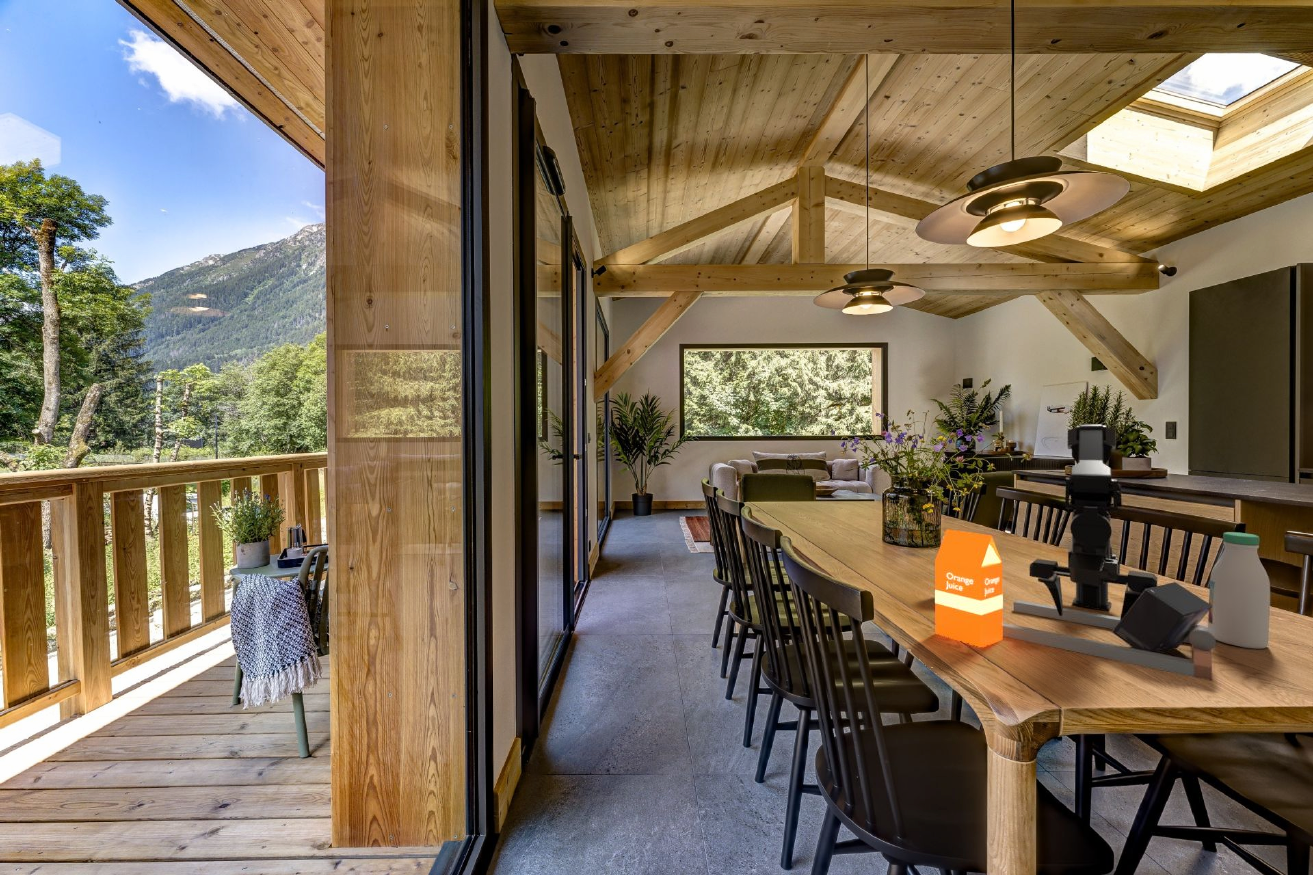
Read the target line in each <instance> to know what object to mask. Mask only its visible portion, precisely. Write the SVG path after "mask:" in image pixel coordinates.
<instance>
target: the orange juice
mask: <svg viewBox="0 0 1313 875" xmlns="http://www.w3.org/2000/svg"><path fill="white" fill-rule="evenodd" d="M943 536H944V538H943V537H942V539H943V541H942V540H941V541H942V543H941V544H940V547H939V550H938V552H937V555H936V557H935V559H934V574H935V575H934V576H935V577H934V578H935V579H934V581H935V582H934V584H935V585H934V587H935V590H934V603H935V604H934V605H935V606H934V608H935V609H934V610H935V614H934V615H935V619H934V620H935V623H934V624H935V626H934V627H935V635H938V634H939V635H938V636H941V637H944V636H945V638H948V637H949V638H948V639H951V640H955V641H958V642H960V641H962V642H961V643H964V644H967V643H969V644H968V645H970V646H973V645H975V646H974V647H976V646H978V647H977V648H980V647H983V648H985V647H987V645H988V646H991V645H992V644H996V643H998V642H1001V641H1003V638H1004V636H1003V623H1004V622H1003V608H1004V602H1003V601H1004V600H1003V599H1004V598H1003V595H1004V594H1003V561H1002V559H1001V556H1000V554H999V552H998V549H997V546H996V544H995V543H996V542H995V541H994V538H993V535H989V534H982V533H976V532H968V531H961V530H954V529H946V530H945V533H944V535H943Z"/></svg>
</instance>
